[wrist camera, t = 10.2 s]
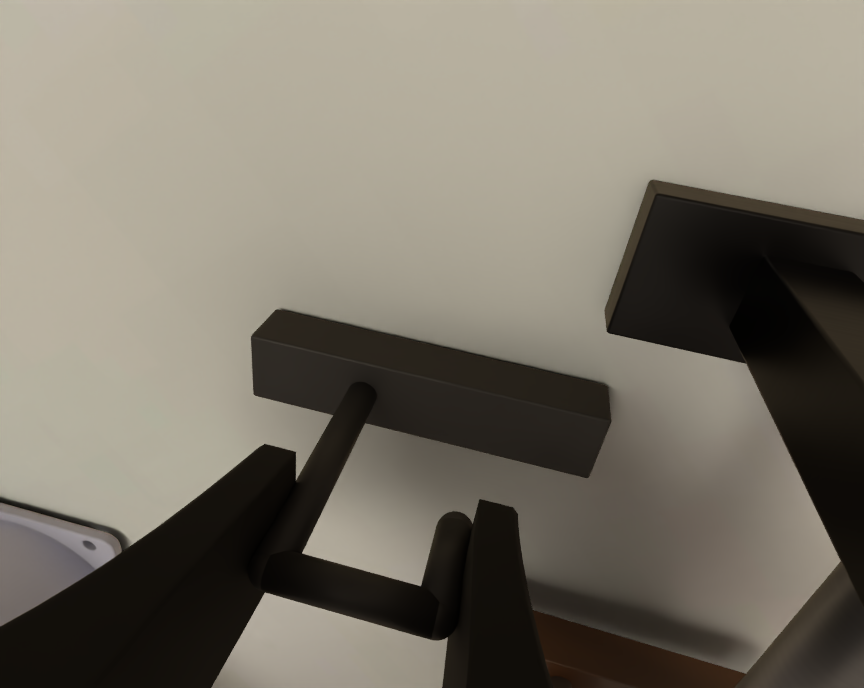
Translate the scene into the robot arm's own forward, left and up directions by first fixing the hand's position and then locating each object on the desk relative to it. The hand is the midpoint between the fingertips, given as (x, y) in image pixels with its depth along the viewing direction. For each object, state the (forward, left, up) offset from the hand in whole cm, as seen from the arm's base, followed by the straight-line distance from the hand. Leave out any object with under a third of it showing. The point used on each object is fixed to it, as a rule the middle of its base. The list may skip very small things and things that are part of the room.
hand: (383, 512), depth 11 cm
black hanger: (0, 0, -5) cm, 5 cm away
